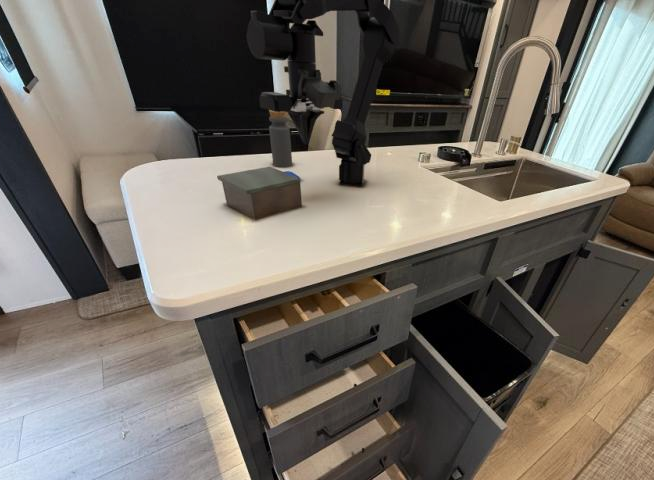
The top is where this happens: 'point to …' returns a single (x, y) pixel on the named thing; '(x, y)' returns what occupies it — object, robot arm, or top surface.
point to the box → (264, 200)
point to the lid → (258, 179)
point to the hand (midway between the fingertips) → (306, 143)
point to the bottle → (280, 139)
